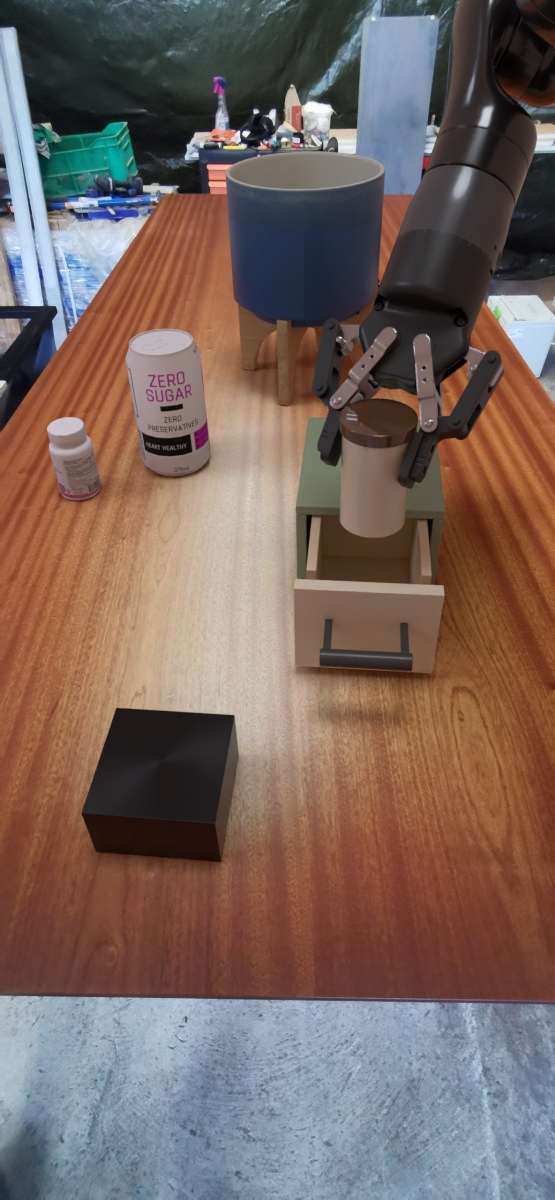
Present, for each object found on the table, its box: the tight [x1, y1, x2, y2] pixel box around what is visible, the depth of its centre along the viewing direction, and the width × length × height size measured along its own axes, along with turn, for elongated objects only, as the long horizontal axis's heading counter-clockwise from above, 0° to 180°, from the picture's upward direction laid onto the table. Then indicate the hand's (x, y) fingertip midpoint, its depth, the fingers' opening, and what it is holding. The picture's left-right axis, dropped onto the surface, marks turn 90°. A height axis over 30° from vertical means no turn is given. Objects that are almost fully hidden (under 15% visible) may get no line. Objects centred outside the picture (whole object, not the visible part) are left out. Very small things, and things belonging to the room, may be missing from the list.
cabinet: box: [295, 416, 446, 585], centre depth 73 cm, size 16×13×11 cm
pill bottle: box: [46, 416, 102, 501], centre depth 83 cm, size 5×5×8 cm
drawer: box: [293, 515, 445, 674], centre depth 63 cm, size 19×12×9 cm, turn 174°
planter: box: [225, 150, 386, 407], centre depth 98 cm, size 19×19×26 cm
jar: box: [339, 397, 419, 538], centre depth 56 cm, size 6×6×9 cm
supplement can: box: [124, 328, 211, 477], centre depth 85 cm, size 8×8×15 cm
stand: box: [80, 707, 240, 862], centre depth 53 cm, size 9×9×5 cm
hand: (365, 473), depth 54 cm, fingers closed on jar, 5 cm apart
